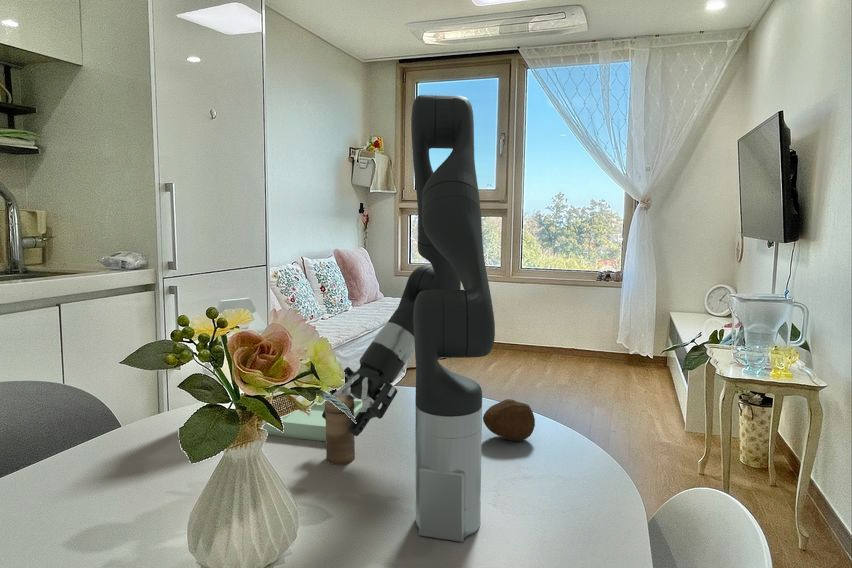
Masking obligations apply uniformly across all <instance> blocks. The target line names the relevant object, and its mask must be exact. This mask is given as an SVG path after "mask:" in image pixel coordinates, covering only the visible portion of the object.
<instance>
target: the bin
mask: <svg viewBox="0 0 852 568" xmlns="http://www.w3.org/2000/svg"><path fill="white" fill-rule="evenodd" d="M362 403H363V402H362V400H361V399H358V398H355V399H354V405H355V409H354V417H355V418H356V416H357V415H358V413H359V412H362ZM324 410H325V402H324V403H323V404H322V405H317V404H314V405H313V406H312V407H311V410H310V411H311V416H310V417H308V416H307V415H305V414H303V413H301V412H295V413H292V414H291V415H288V416H289V417H288V416H285V417H283V420H282V422H283V425H284V433H282V432H281V431H279V430H277V429H276V428H274V427H272V426H270V425H268V424H265V425H264V426H263V430H264V429H266V430H267V432H268V436H275V437H284V438H293V439H301V440H302V439H303V440H309V441H319V442H326V420H325V419H324V418H323V417H322V414H323V412H324ZM284 418H285V419H284Z"/></svg>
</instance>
